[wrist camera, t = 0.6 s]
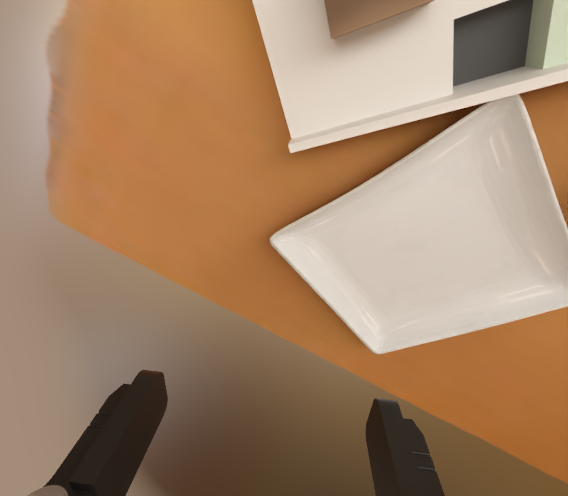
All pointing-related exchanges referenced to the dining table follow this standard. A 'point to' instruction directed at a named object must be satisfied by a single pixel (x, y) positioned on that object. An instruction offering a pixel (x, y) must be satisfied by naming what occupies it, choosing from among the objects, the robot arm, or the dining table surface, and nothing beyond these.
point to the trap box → (407, 62)
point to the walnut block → (363, 13)
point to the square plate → (441, 237)
